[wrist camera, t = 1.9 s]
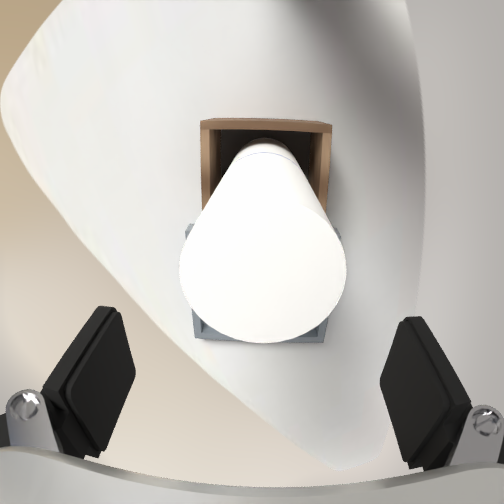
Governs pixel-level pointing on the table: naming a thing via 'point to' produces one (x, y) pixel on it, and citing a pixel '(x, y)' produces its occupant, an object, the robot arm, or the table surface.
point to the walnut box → (212, 129)
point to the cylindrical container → (263, 251)
